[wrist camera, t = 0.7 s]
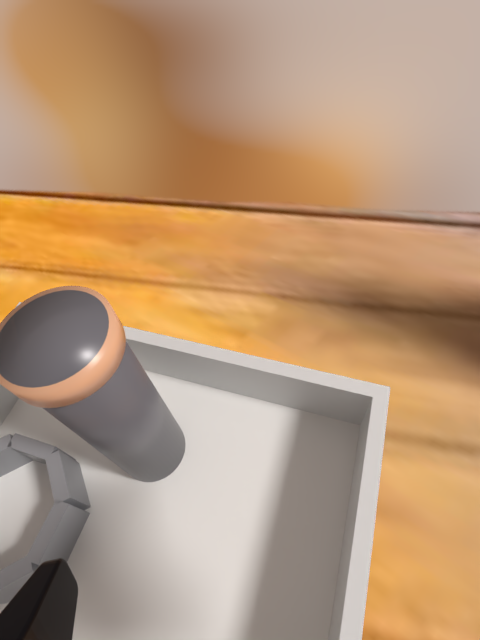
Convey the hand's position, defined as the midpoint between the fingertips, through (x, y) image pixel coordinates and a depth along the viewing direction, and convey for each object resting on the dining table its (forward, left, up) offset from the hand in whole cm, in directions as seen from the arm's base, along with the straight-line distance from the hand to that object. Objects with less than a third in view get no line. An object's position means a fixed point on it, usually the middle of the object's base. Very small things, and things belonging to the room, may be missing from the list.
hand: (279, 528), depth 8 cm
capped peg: (+4, +9, -15) cm, 18 cm away
